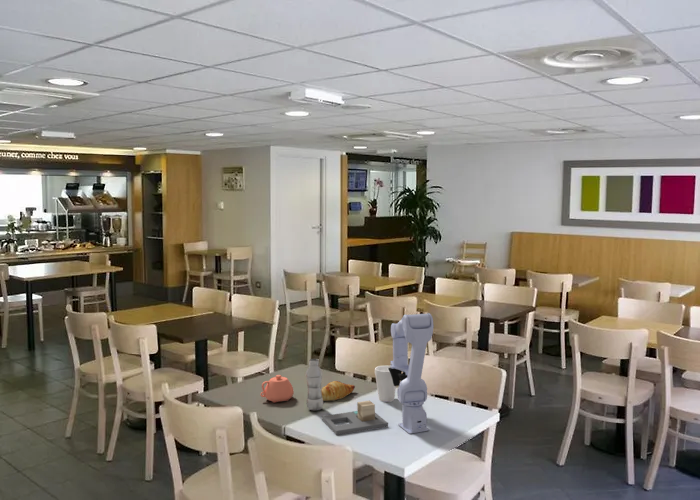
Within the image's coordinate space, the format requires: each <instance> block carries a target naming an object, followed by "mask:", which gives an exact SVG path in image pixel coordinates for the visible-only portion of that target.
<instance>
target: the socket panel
mask: <svg viewBox="0 0 700 500" xmlns="http://www.w3.org/2000/svg"><path fill="white" fill-rule="evenodd" d="M321 420H322V422H323V423H324V424H325V425H326V426H327V427H328V428H329V429H330V431H331V432H333V434H334V435H336V436H339V435H340V436H341V435H346V434H352V433H359V432H364V431H370V430H378V429H382V428H383V429H384V428H388V427H389V423H388V422H387V421H386V420H385V419H384V418H383V417H382V416H380V415H379V414H378V413H377V412H375V420H370V421H364V422H362V421H360V420H359V419H358V412H357V410H356V411H347V412H341V413H340V412H339V413H335V414H328V415H322V416H321ZM344 422H347V423H345V424H338V425H336V424H337V423H344Z"/></svg>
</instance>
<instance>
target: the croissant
mask: <svg viewBox="0 0 700 500" xmlns="http://www.w3.org/2000/svg"><path fill="white" fill-rule="evenodd" d="M355 387H356V385H354V384H349V383H348V384H346V383H344V382H341V381H339V380H333V381H330V382H328V383H327V384H326V385H325V386H322V387H321V391H322V398H323V402H326V401H329V402H330V401H336V400H340V399H343V398H345V397H346V396H348V395H350V394H351V393H353V391H354V390H355Z"/></svg>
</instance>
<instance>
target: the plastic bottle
mask: <svg viewBox="0 0 700 500" xmlns="http://www.w3.org/2000/svg"><path fill="white" fill-rule="evenodd" d="M319 364H320V362H319V359H318V358H311V359H309V363H308V365H309V367H307V369H306V371H305V377H306V383H307V396H306V397H307V398H306V407H307V409H308V410H309V411H310V410H311V411H320V410H322V409H323V407H324V401H323V398H322V391H321V389H322V382H323V381H322V380H323V370H322V369H321V367H320V366H319Z"/></svg>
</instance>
